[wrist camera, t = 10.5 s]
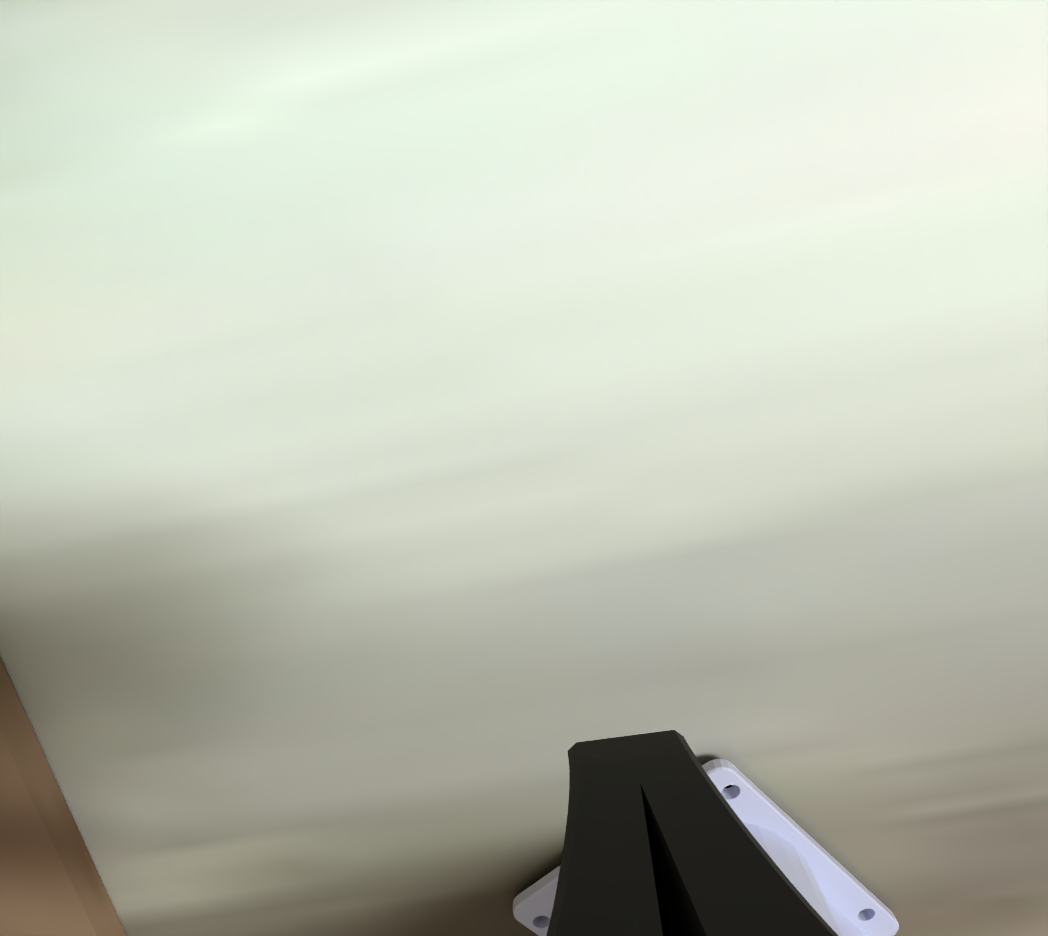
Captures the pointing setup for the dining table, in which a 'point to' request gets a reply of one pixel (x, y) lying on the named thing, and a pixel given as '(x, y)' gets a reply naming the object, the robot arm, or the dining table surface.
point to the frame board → (42, 842)
